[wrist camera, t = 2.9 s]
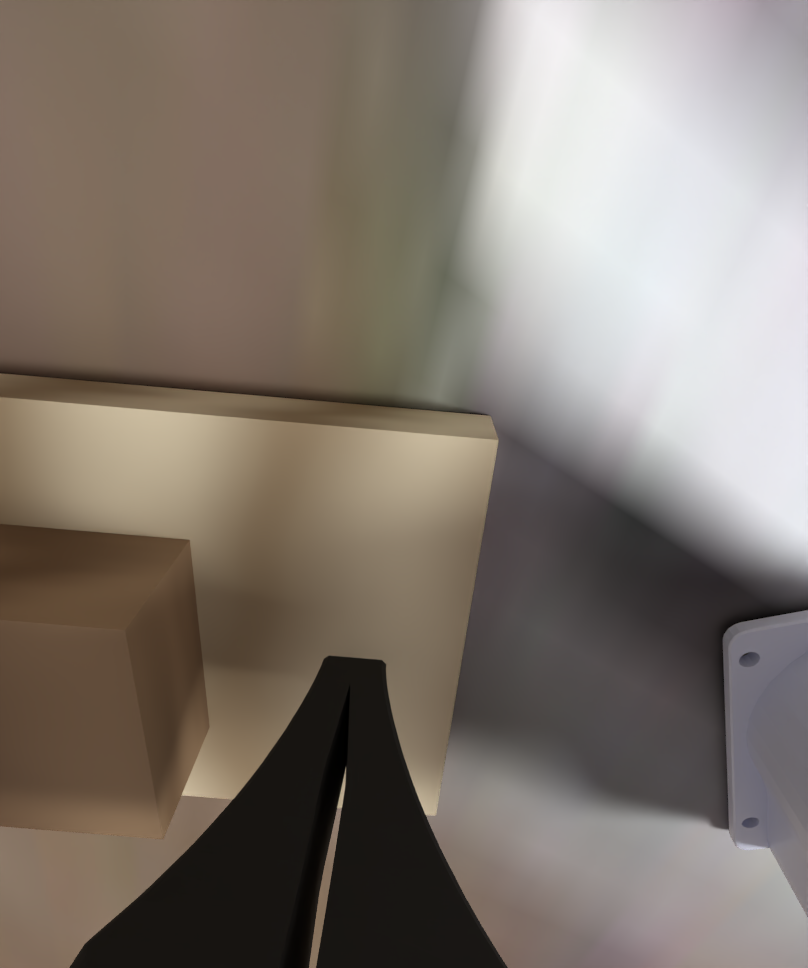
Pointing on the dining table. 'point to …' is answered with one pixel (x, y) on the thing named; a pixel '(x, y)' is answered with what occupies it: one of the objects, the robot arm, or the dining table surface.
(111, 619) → the tan cardboard box
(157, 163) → the dining table surface
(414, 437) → the board
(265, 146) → the dining table surface
